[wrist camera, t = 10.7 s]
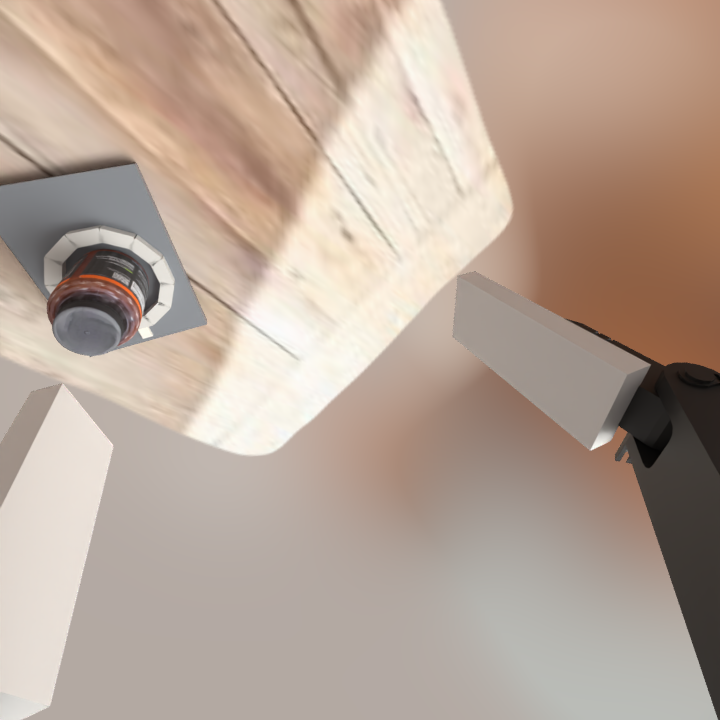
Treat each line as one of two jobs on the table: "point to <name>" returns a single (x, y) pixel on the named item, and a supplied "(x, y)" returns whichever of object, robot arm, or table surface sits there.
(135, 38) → the table surface
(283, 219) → the table surface
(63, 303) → the supplement bottle
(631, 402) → the robot arm
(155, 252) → the hub board
